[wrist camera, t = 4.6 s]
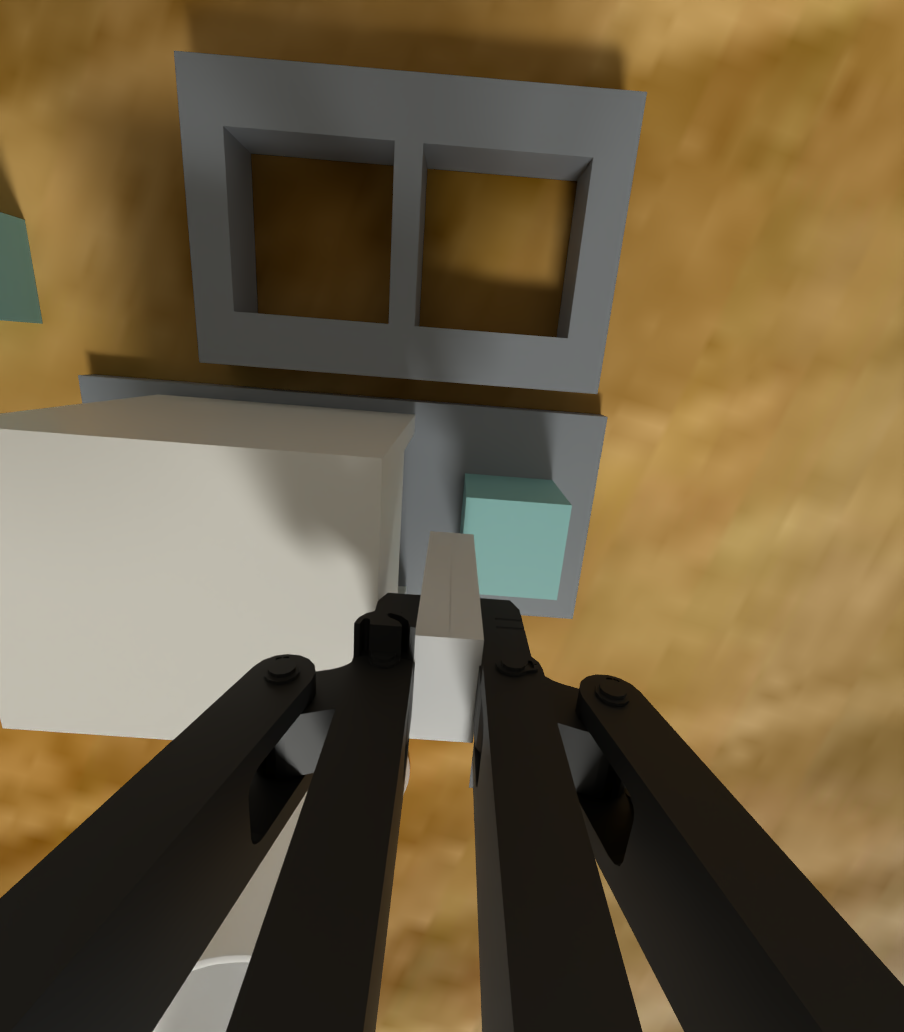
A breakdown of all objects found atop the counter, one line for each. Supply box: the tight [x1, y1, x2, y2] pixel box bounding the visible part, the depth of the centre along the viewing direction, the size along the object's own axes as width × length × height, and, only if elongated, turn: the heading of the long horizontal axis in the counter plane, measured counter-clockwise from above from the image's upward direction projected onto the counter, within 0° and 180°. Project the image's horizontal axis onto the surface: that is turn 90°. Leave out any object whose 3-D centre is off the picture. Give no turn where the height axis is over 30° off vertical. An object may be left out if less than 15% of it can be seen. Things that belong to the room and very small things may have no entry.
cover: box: [0, 394, 415, 740], centre depth 18 cm, size 11×9×10 cm
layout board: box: [78, 375, 607, 619], centre depth 21 cm, size 23×10×5 cm, turn 86°
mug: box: [153, 758, 410, 1032], centre depth 23 cm, size 12×8×12 cm
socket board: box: [174, 51, 647, 394], centre depth 19 cm, size 16×10×2 cm, turn 86°
